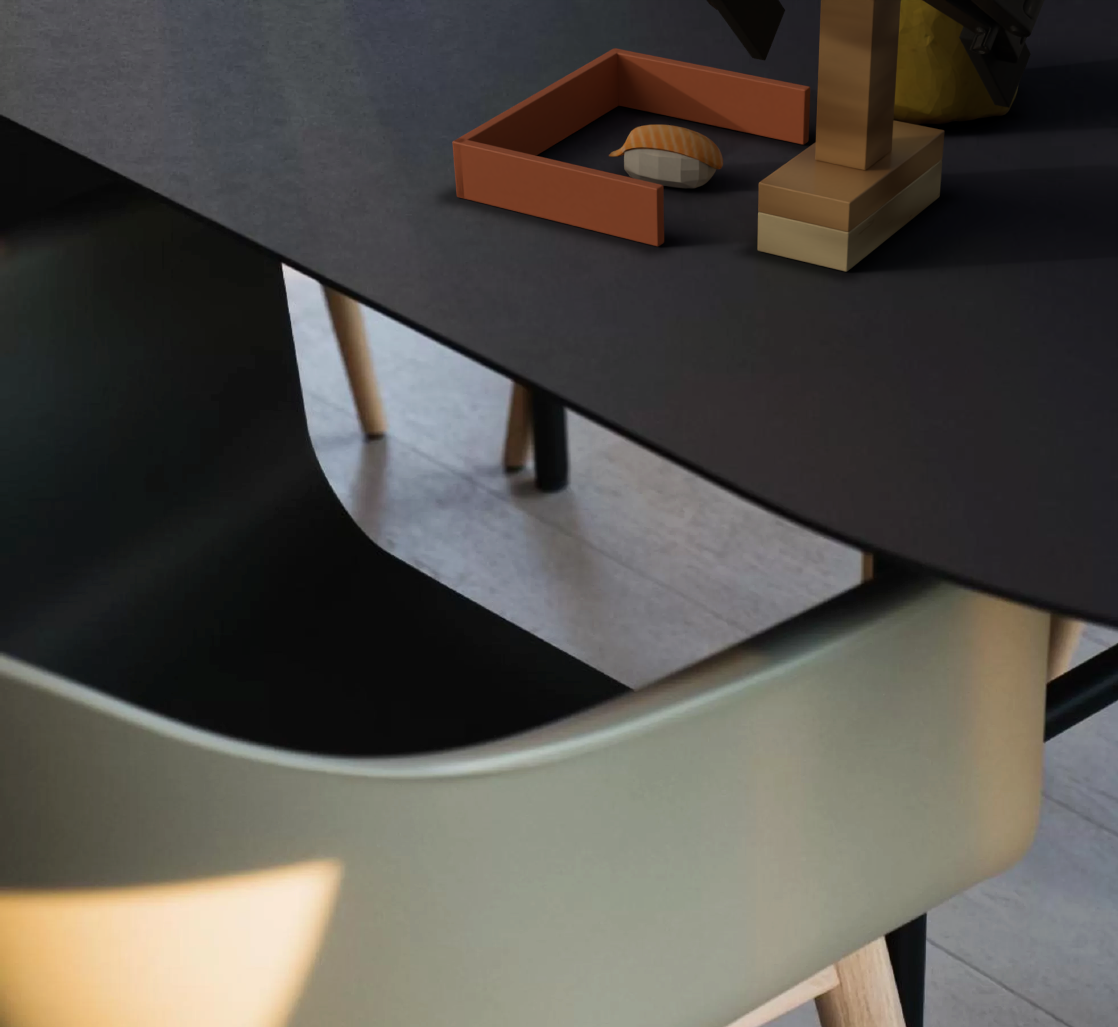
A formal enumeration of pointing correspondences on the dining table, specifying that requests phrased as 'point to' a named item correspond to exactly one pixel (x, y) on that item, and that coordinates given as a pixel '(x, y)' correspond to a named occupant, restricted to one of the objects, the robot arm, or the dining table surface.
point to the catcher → (588, 93)
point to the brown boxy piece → (852, 149)
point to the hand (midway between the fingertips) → (887, 56)
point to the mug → (936, 71)
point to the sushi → (670, 156)
